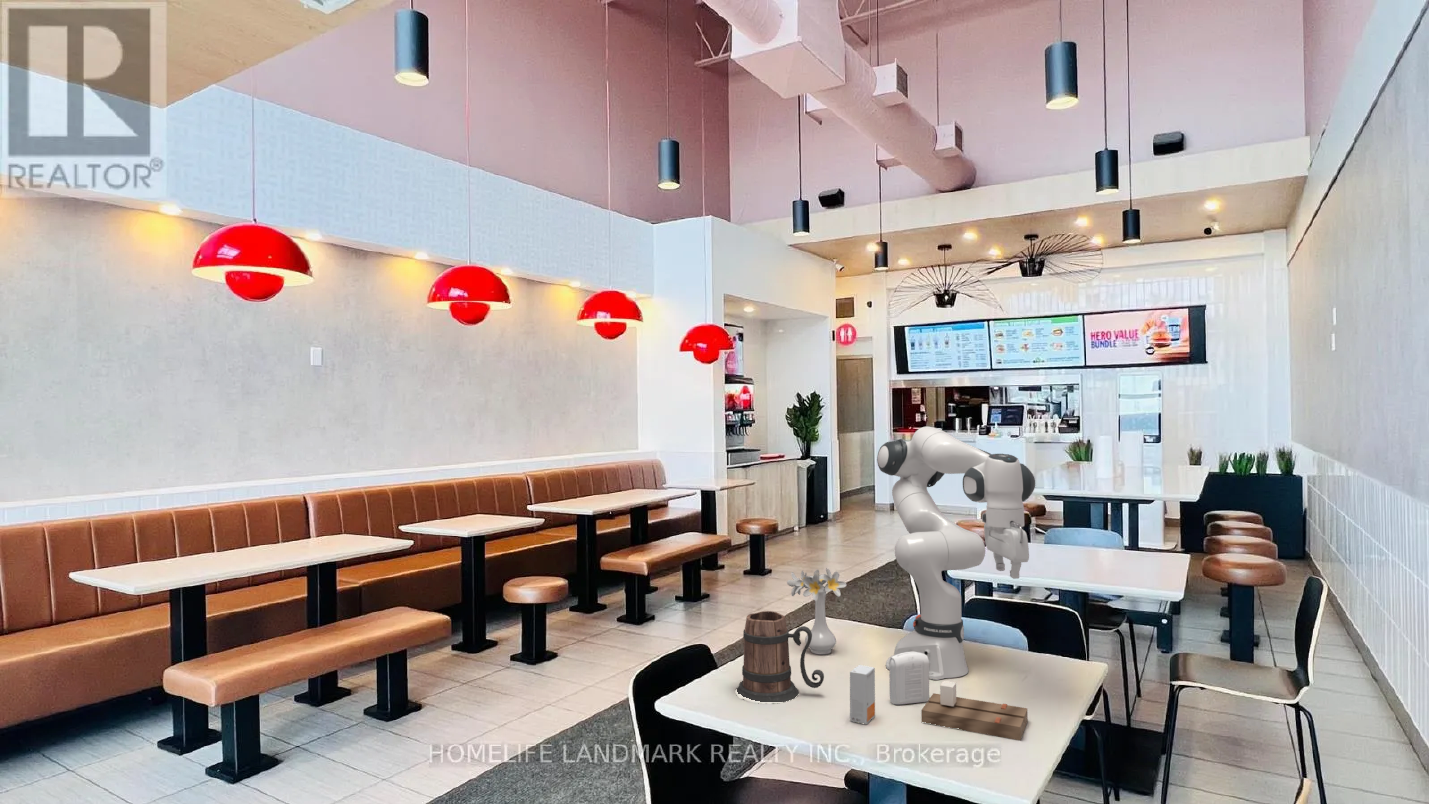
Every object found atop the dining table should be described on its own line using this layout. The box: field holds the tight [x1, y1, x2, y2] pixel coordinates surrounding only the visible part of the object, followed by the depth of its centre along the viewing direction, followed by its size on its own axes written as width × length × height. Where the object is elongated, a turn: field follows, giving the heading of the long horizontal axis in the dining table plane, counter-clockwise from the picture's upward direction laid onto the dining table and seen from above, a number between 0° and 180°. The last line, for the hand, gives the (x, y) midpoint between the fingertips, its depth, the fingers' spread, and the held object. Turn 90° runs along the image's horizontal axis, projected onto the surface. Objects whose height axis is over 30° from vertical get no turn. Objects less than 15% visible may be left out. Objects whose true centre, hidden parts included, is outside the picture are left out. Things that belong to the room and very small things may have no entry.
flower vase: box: [786, 567, 847, 656], centre depth 241 cm, size 13×18×25 cm
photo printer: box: [888, 652, 930, 705], centre depth 201 cm, size 10×4×12 cm, turn 104°
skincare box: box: [849, 664, 876, 725], centre depth 190 cm, size 6×4×12 cm
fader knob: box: [939, 680, 957, 707], centre depth 190 cm, size 3×4×6 cm
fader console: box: [920, 693, 1029, 741], centre depth 188 cm, size 22×12×3 cm, turn 61°
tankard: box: [736, 610, 825, 703], centre depth 208 cm, size 24×17×20 cm
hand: (1007, 574), depth 199 cm, fingers open, 8 cm apart
